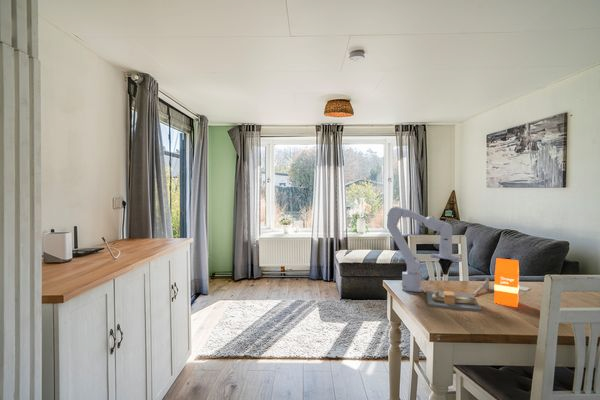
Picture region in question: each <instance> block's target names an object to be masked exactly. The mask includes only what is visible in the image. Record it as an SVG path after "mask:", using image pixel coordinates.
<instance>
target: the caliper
mask: <svg viewBox="0 0 600 400" xmlns="http://www.w3.org/2000/svg"><path fill="white" fill-rule="evenodd" d="M484 279H485V280H484V281H483V282H482V283H481V285H480V286H478V288H477V289H476V290H475V291H474V292H473V293H472V295H473V296H474V297H476V296H478V295H479V293H481V291H483V289H485V290H489V289H490V279H489V277H487V276H486V277H485V278H484Z"/></svg>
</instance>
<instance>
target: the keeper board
mask: <svg viewBox="0 0 600 400" xmlns="http://www.w3.org/2000/svg"><path fill="white" fill-rule="evenodd" d="M435 291H436V290H426V291H425V294H426V301H427V306H428V307H435V308H445V309H454V310H464V311H473V312H482V308H481V306H480V304H479V303H478V301H477V300H476V304H469V303H458V302H455V296H457V297H469V298H475V296H473V293H472V294H469V293H460V292H459V293H458V292H454V291H448V290H443V291H438V292H439V295H444V296H445V301H435V300H432V295H433V294H435Z"/></svg>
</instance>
